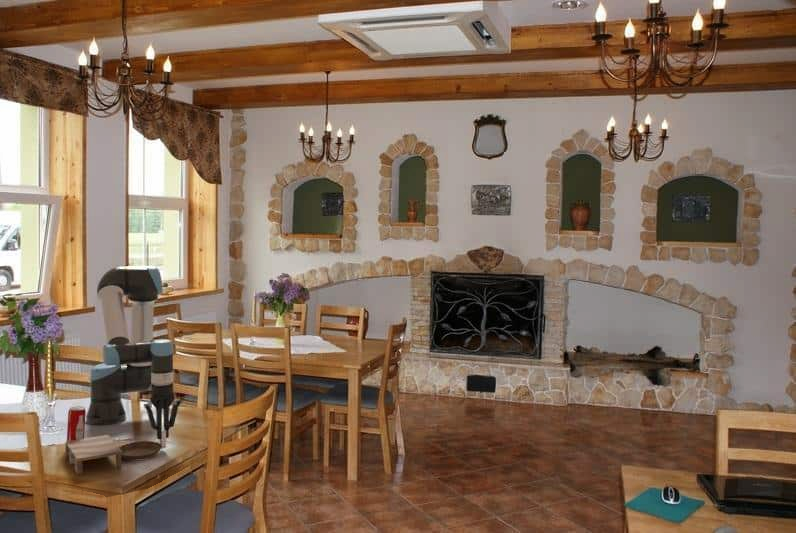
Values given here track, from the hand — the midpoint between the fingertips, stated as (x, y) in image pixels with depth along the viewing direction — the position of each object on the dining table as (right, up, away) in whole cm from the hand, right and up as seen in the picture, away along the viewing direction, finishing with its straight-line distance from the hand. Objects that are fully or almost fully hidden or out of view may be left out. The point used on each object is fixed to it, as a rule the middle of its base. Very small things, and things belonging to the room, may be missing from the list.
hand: (162, 447), depth 249 cm
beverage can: (-32, -1, +1) cm, 32 cm away
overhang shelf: (-19, -2, -13) cm, 24 cm away
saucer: (-7, -2, -5) cm, 8 cm away
